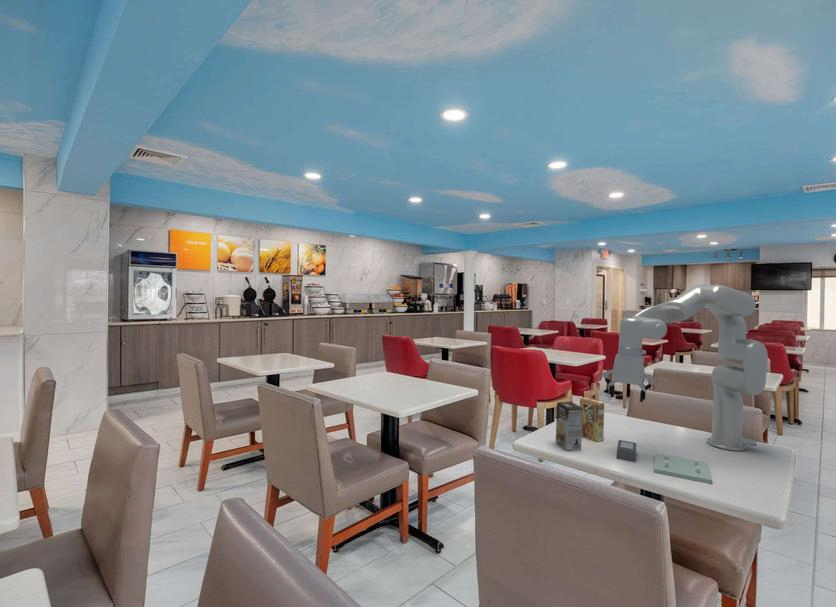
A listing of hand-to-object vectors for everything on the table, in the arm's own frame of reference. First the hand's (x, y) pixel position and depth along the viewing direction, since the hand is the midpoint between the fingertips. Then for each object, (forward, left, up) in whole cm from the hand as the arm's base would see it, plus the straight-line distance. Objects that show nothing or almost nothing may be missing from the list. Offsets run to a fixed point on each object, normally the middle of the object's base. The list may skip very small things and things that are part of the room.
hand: (626, 399), depth 158 cm
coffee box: (+19, +2, -21) cm, 29 cm away
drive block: (-1, 0, -21) cm, 21 cm away
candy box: (+13, -13, -21) cm, 28 cm away
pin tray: (-18, +3, -21) cm, 27 cm away
